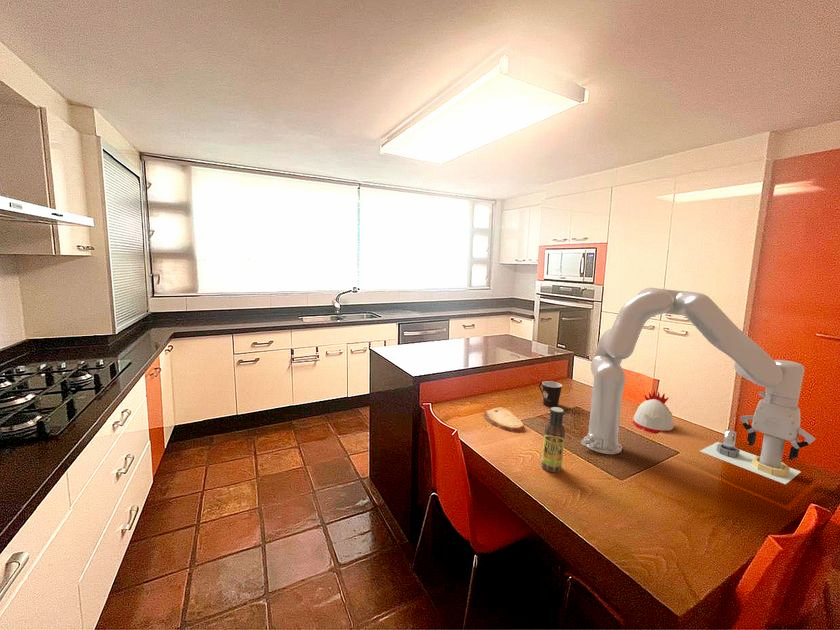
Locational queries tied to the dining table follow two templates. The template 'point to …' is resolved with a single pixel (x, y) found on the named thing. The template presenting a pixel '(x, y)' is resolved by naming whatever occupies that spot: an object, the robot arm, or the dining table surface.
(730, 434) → the grey peg
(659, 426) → the white and red dome
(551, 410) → the sauce bottle
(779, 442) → the beverage can
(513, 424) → the bread slice
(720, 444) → the socket board
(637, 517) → the dining table surface
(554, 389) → the coffee mug
